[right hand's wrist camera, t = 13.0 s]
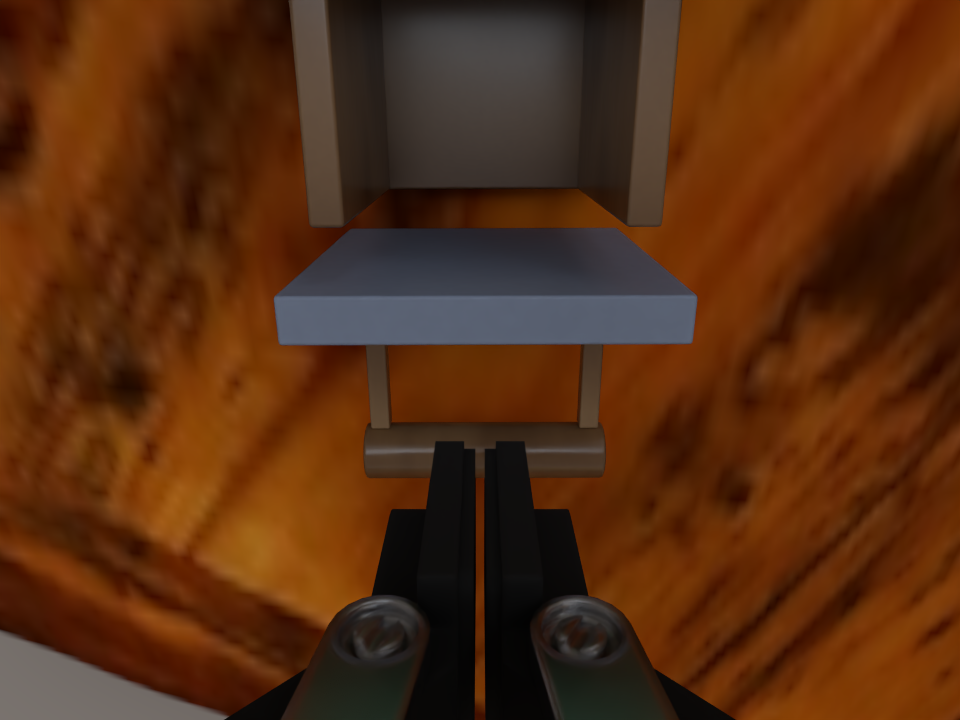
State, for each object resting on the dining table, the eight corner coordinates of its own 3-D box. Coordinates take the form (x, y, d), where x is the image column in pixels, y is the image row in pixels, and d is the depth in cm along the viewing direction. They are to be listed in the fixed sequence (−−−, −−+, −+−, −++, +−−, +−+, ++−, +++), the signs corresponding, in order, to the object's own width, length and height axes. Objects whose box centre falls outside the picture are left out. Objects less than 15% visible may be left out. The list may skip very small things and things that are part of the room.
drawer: (604, 411, 27) (668, 563, 18) (362, 412, 27) (302, 564, 18) (650, -260, 19) (800, -588, 10) (315, -259, 19) (172, -585, 10)
